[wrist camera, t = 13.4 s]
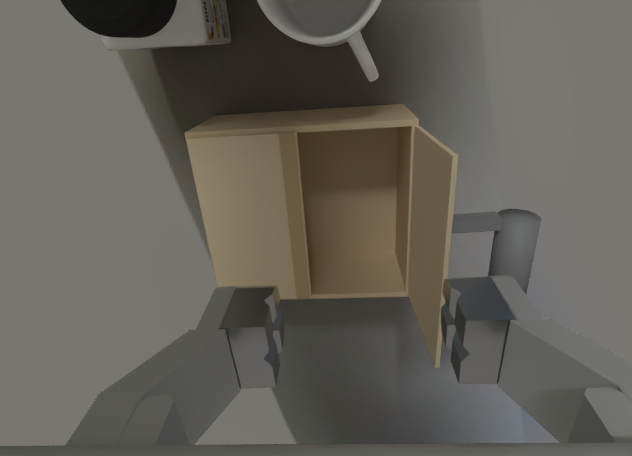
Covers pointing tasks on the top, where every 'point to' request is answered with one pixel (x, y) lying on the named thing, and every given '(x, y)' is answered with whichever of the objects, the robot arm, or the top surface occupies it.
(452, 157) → the near flap
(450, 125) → the top surface
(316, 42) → the mug
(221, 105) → the top surface
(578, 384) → the robot arm
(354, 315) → the top surface
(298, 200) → the carton
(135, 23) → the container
